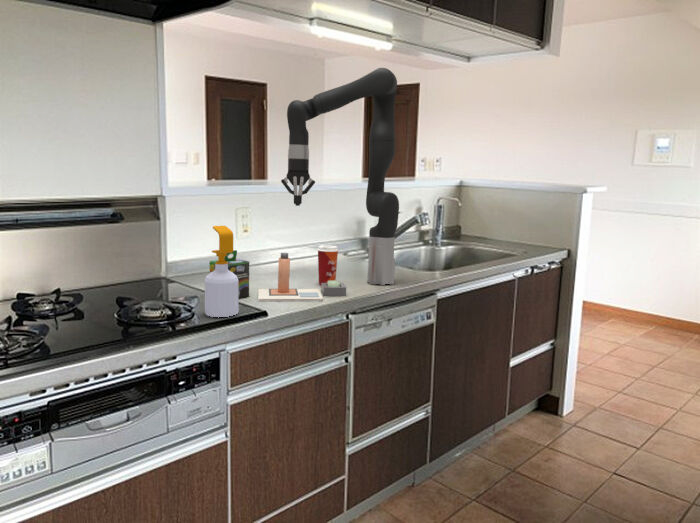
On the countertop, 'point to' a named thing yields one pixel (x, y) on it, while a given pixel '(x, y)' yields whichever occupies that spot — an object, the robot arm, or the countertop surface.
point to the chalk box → (237, 272)
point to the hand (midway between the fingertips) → (297, 205)
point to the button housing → (333, 290)
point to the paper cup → (327, 262)
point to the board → (290, 295)
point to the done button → (333, 283)
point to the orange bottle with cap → (283, 273)
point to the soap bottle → (222, 280)
